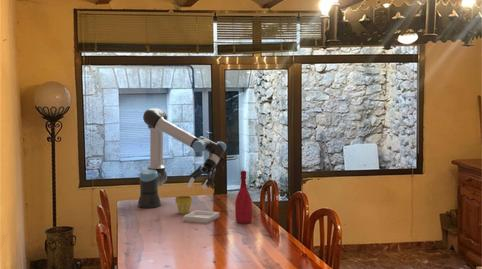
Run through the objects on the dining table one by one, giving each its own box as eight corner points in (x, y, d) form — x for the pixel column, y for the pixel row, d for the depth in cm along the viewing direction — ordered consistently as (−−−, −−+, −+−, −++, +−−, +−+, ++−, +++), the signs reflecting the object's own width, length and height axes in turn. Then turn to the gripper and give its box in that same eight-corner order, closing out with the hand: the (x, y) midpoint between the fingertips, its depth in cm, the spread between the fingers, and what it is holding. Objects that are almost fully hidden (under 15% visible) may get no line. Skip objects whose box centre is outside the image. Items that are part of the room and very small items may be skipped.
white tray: (183, 221, 303) (183, 216, 303) (195, 215, 318) (195, 210, 318) (208, 223, 297) (208, 218, 297) (219, 217, 312) (219, 212, 312)
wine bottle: (252, 224, 295) (251, 172, 293) (235, 224, 295) (234, 172, 293) (252, 219, 305) (251, 169, 302) (235, 219, 305) (235, 169, 303)
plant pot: (193, 210, 330) (193, 195, 329) (190, 214, 320) (190, 198, 319) (177, 210, 331) (177, 195, 330) (174, 214, 321) (173, 198, 320)
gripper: (228, 167, 336) (212, 193, 326) (201, 163, 352) (185, 188, 342) (222, 159, 331) (206, 186, 321) (195, 156, 348) (179, 182, 338)
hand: (195, 187), depth 332 cm, fingers open, 13 cm apart
